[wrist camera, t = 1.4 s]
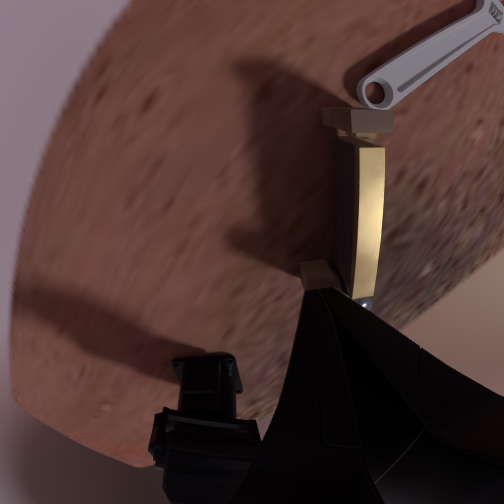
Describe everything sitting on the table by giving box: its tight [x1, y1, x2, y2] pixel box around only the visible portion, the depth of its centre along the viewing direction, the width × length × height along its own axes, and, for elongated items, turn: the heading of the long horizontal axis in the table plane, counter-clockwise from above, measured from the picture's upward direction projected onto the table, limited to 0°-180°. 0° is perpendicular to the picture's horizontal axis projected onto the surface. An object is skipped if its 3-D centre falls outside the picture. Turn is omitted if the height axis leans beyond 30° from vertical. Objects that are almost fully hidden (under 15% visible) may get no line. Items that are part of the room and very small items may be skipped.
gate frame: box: [300, 107, 393, 291], centre depth 18 cm, size 14×3×6 cm, turn 176°
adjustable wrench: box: [356, 0, 504, 110], centre depth 13 cm, size 25×6×2 cm, turn 127°
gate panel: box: [331, 136, 385, 311], centre depth 18 cm, size 11×2×5 cm, turn 6°
